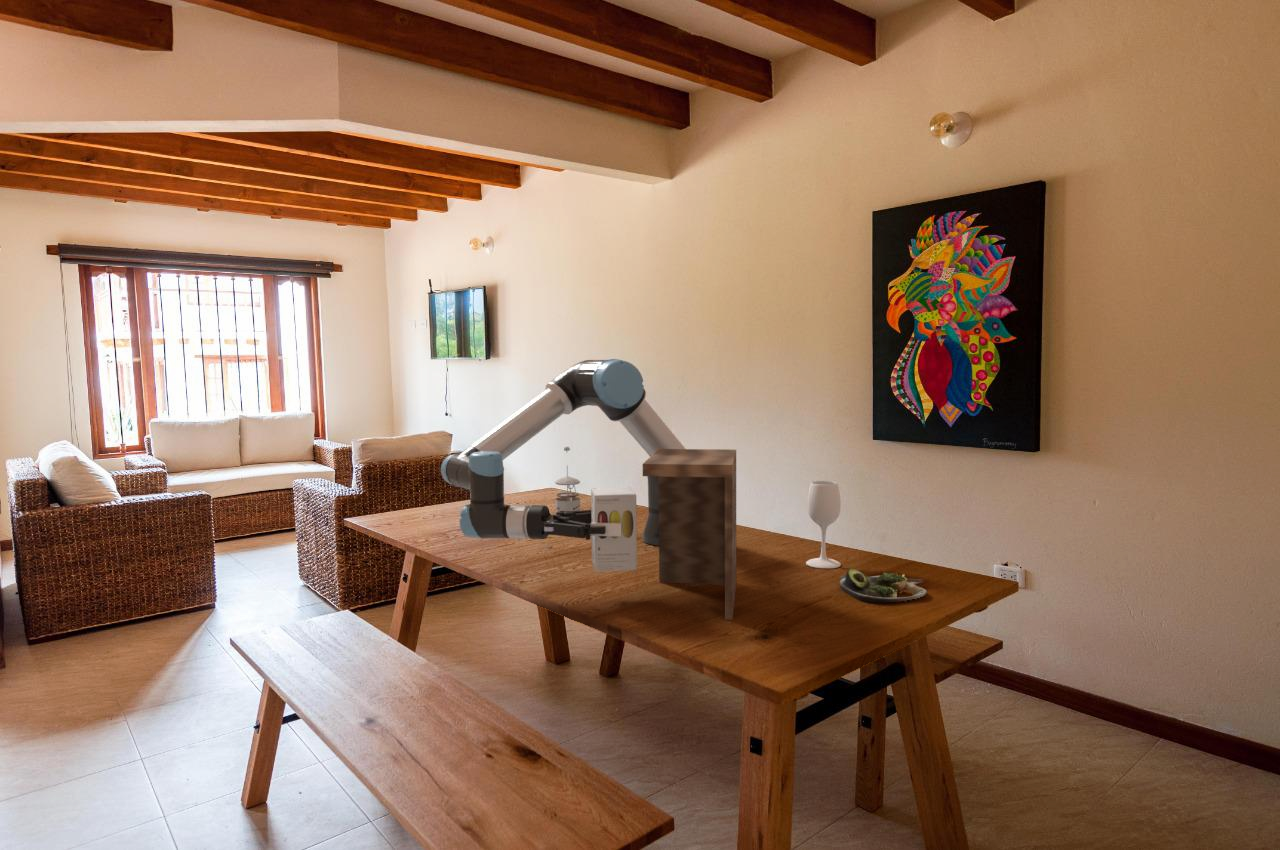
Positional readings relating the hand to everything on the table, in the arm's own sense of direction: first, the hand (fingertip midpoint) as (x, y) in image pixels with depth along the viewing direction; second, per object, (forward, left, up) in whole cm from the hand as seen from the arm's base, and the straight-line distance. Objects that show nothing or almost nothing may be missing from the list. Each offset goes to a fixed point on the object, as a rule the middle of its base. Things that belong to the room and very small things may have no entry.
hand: (626, 523), depth 171 cm
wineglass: (-56, -1, -17) cm, 58 cm away
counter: (-12, +8, -17) cm, 22 cm away
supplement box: (+2, -2, -10) cm, 10 cm away
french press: (-17, -79, -17) cm, 83 cm away
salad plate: (-52, +23, -17) cm, 59 cm away
